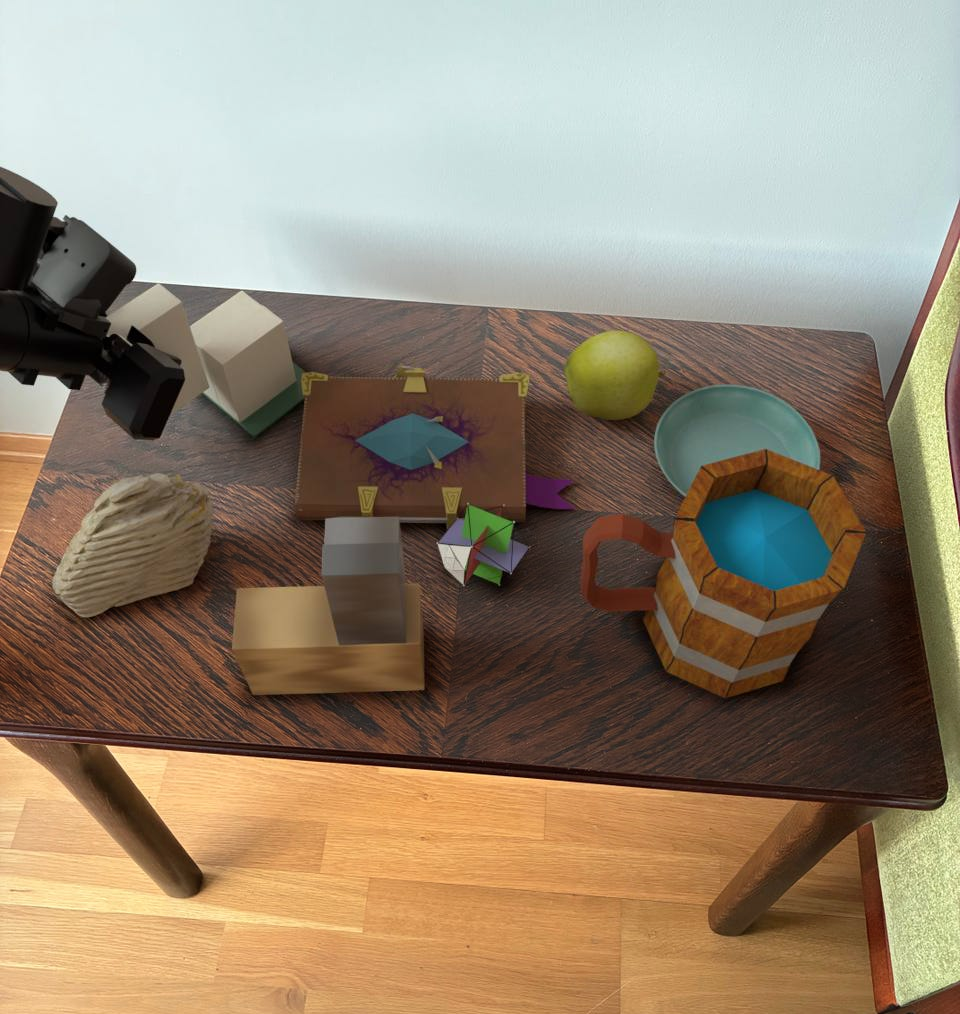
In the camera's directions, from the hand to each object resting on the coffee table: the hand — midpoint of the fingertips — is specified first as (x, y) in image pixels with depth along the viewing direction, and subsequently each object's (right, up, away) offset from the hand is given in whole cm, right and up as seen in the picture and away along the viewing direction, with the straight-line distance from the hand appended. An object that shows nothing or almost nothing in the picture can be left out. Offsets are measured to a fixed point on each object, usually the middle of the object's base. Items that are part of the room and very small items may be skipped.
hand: (166, 354), depth 86 cm
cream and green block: (+4, 0, +11) cm, 12 cm away
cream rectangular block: (-1, -3, +4) cm, 5 cm away
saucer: (+49, -8, +7) cm, 50 cm away
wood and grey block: (+15, -26, -2) cm, 30 cm away
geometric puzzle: (+27, -18, +2) cm, 32 cm away
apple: (+39, -2, +10) cm, 40 cm away
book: (+22, -7, +7) cm, 25 cm away
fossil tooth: (-2, -18, +2) cm, 18 cm away
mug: (+44, -23, 0) cm, 49 cm away
